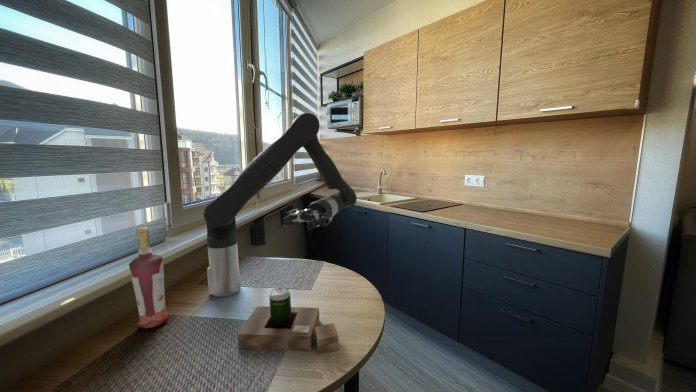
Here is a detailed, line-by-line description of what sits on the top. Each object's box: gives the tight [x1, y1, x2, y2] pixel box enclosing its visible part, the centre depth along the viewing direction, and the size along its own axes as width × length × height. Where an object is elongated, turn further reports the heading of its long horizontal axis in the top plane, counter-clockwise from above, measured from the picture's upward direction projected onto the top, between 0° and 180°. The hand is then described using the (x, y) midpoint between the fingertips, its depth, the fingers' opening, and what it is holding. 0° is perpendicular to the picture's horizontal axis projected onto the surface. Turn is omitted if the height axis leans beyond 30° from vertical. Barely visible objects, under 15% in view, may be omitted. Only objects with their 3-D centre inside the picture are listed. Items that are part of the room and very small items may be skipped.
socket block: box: [237, 305, 320, 352], centre depth 69 cm, size 18×12×4 cm, turn 87°
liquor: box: [128, 226, 169, 330], centre depth 72 cm, size 7×7×28 cm
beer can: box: [268, 286, 292, 329], centre depth 68 cm, size 5×5×12 cm
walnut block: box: [314, 323, 339, 355], centre depth 64 cm, size 5×5×4 cm
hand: (295, 224), depth 75 cm, fingers open, 8 cm apart
